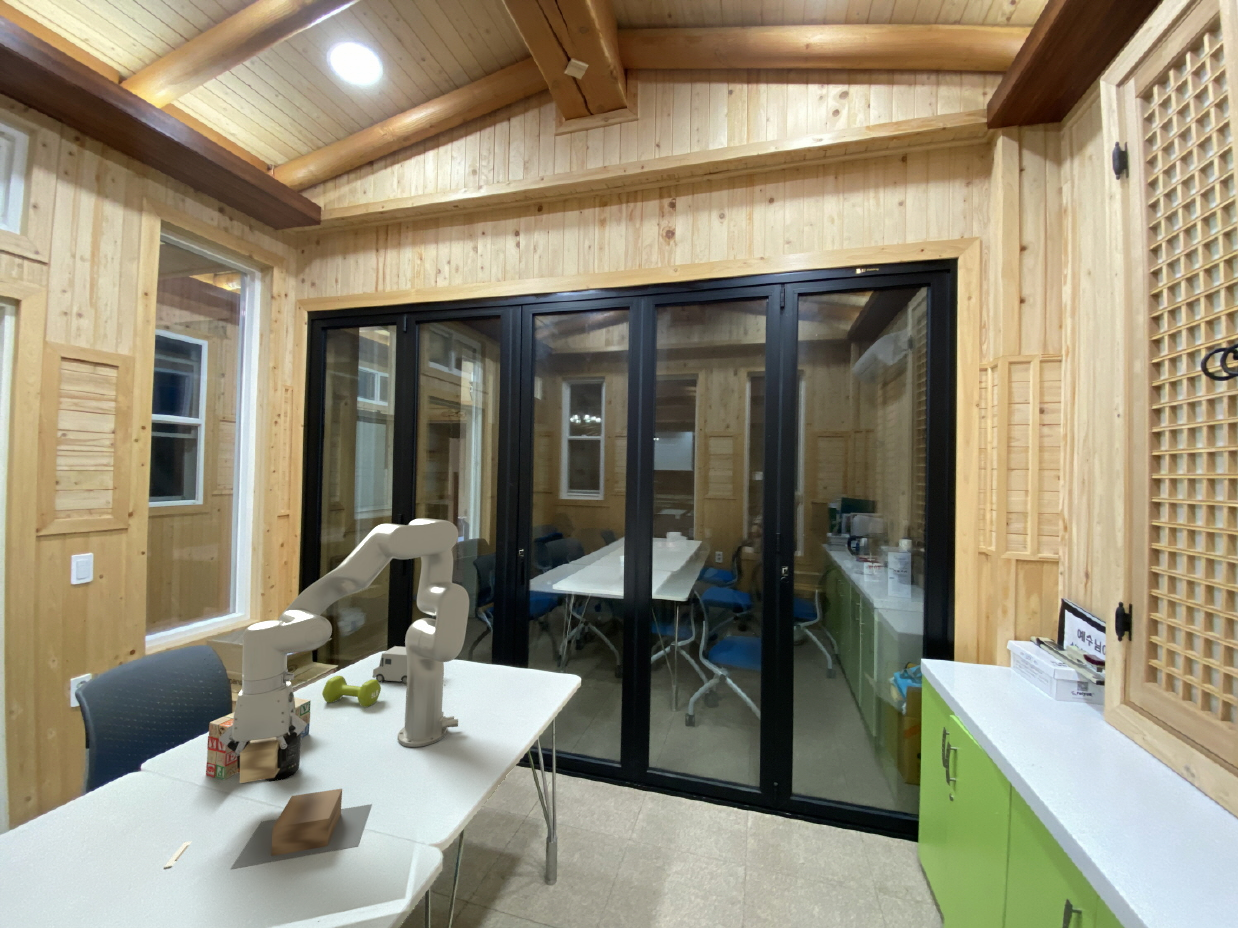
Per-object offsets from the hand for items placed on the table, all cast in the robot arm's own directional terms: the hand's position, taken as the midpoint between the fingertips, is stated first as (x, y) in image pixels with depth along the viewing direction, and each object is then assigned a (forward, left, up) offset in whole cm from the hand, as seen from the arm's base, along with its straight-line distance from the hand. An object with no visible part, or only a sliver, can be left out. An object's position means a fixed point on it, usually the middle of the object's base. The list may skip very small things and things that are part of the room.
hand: (263, 766), depth 98 cm
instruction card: (+6, +10, -9) cm, 14 cm away
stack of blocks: (+9, -24, -9) cm, 28 cm away
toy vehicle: (-18, -65, -9) cm, 68 cm away
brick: (-12, +12, -8) cm, 19 cm away
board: (-12, +12, -9) cm, 19 cm away
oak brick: (0, 0, -1) cm, 1 cm away
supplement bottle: (+1, -13, -9) cm, 16 cm away
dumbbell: (-5, -50, -9) cm, 51 cm away
